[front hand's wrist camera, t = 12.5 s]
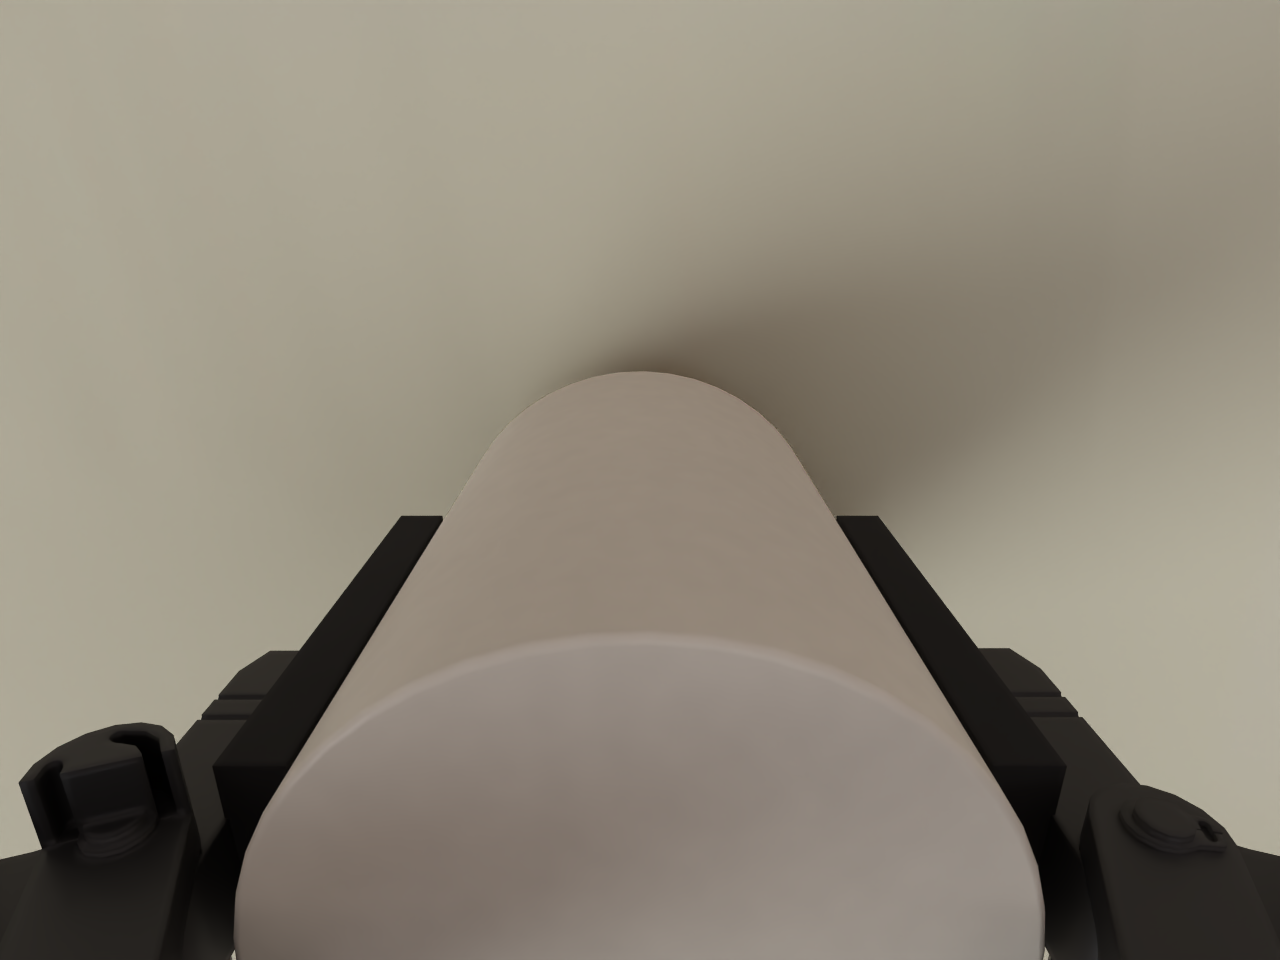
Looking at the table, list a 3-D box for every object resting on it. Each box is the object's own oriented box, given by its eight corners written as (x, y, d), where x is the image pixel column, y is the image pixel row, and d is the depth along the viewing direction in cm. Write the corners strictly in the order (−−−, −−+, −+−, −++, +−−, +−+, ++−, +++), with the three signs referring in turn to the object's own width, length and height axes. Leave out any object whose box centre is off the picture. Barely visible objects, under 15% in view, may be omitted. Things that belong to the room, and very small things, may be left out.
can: (609, 289, 14) (555, 442, 5) (891, 520, 15) (1224, 940, 7) (393, 569, 16) (86, 1027, 7) (664, 747, 17) (688, 1303, 9)
